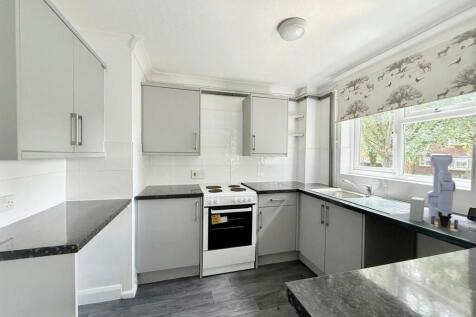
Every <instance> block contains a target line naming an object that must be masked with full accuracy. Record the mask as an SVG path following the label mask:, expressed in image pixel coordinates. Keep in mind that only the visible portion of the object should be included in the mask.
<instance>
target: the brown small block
mask: <svg viewBox="0 0 476 317" xmlns="http://www.w3.org/2000/svg"><path fill="white" fill-rule="evenodd" d="M437 220H438V221H437V222H438V227H441V228H445V229H450V226H451V224H452V223H451V222H452V220H451V219H450V220H449V222H448V226H447V228H446V227H442V226H441V222H440V218H438V219H437Z"/></svg>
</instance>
